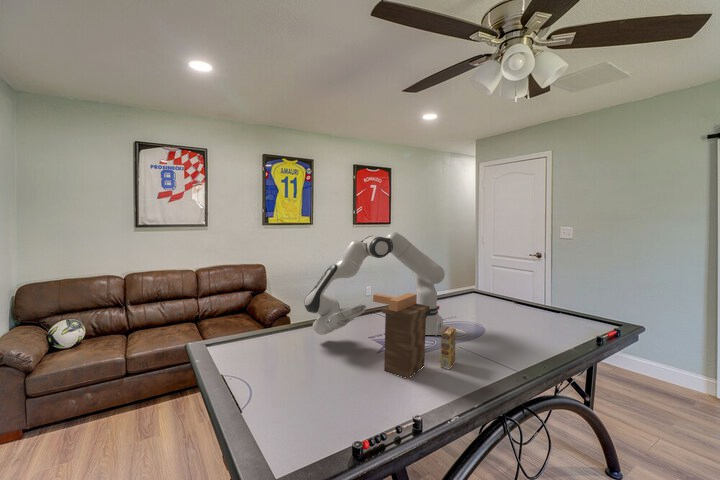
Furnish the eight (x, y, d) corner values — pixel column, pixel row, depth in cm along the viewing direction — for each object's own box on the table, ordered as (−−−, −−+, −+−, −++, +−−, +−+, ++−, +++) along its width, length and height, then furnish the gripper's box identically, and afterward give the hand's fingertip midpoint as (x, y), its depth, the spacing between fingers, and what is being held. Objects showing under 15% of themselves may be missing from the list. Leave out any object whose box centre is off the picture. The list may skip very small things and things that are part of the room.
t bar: (384, 297, 153) (385, 288, 152) (416, 303, 143) (416, 294, 143) (364, 304, 140) (364, 295, 140) (397, 311, 130) (397, 301, 130)
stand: (400, 358, 149) (402, 300, 147) (427, 366, 141) (429, 305, 139) (380, 371, 136) (382, 308, 134) (409, 381, 128) (410, 314, 127)
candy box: (449, 370, 138) (451, 333, 137) (439, 367, 140) (441, 332, 139) (455, 362, 146) (456, 327, 145) (445, 360, 148) (446, 326, 147)
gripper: (321, 317, 152) (341, 306, 144) (349, 307, 168) (369, 297, 161) (326, 330, 150) (346, 320, 143) (354, 319, 167) (374, 310, 159)
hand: (358, 308), depth 152 cm, fingers open, 8 cm apart
